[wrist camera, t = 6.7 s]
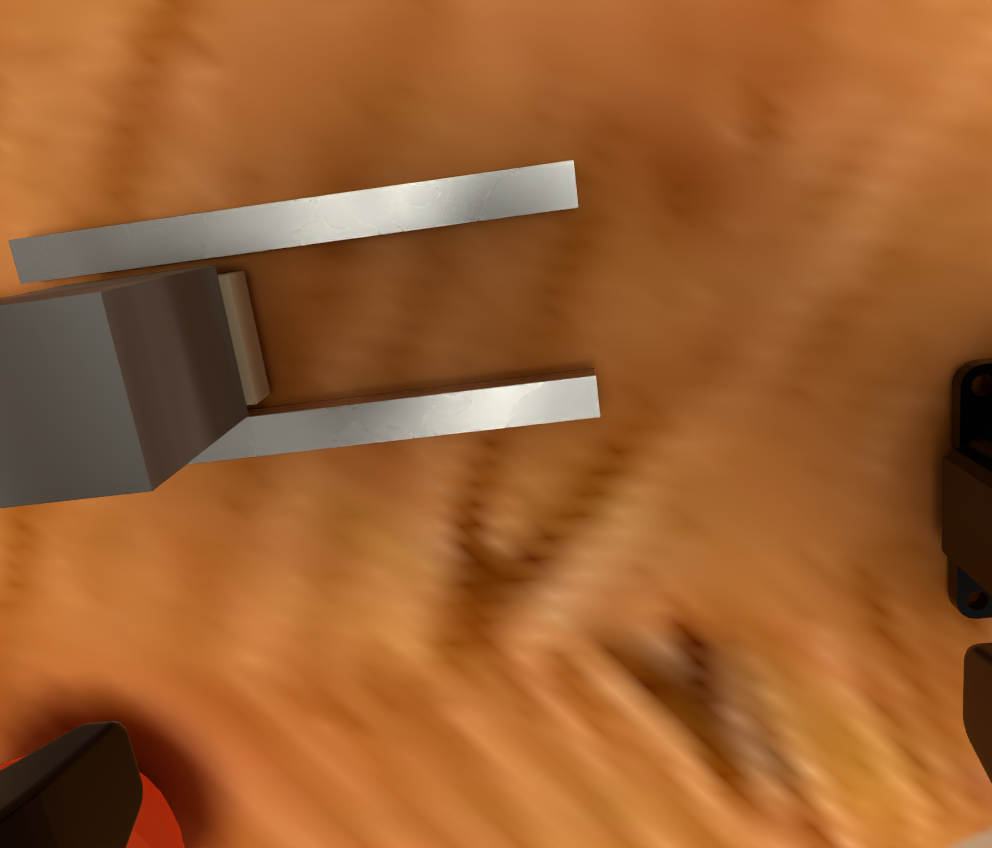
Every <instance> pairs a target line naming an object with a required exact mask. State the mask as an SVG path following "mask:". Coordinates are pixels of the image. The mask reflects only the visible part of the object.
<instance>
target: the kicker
mask: <svg viewBox="0 0 992 848" xmlns="http://www.w3.org/2000/svg"><path fill="white" fill-rule="evenodd" d="M269 394H270V390H269V385H268V381H267V376H266V371H265V366H264V362H263V357H262V352H261V348H260V343H259V338H258V334H257V329H256V324H255V320H254V315H253V310H252V306H251V301H250V296H249V292H248V287H247V282H246V278H245V273H244V270H243V271H236V272H229V273H221V274H217V270H216V266H215V265H211V266H204V267H196V268H189V269H182V270H174V271H167V272H160V273H152V274H145V275H138V276H130V277H123V278H116V279H108V280H101V281H94V282H86V283H79V284H71V285H65V286H60V287H55V288H50V289H45V290H41V291H36V292H31V293H26V294H21V295H16V296H11V297H7V298H2V299H0V508H6V507H15V506H24V505H33V504H42V503H50V502H59V501H68V500H77V499H86V498H95V497H104V496H113V495H121V494H130V493H139V492H148V491H153V490H154V489H156V488H157V487H158V486H159V485H161V484H162V483H163V482H164V481H166V480H167V479H168V478H170V477H171V476H172V475H173V474H175V473H176V472H177V471H179V470H180V469H181V468H182V467H184V466H185V465H186V464H188V463H189V462H190V461H191V460H193V459H194V458H195V457H196V456H198V455H199V454H200V453H202V452H203V451H204V450H205V449H207V448H208V447H209V446H211V445H212V444H213V443H214V442H216V441H217V440H218V439H219V438H221V437H222V436H223V435H225V434H226V433H227V432H228V431H230V430H231V429H232V428H234V427H235V426H236V425H237V424H239V423H240V422H241V421H242V420H244V419H245V418H246V417H248V416H249V414H248V410H247V405H253V404H258V403H259V402H260V401H262V400H263V399H264V398H265V397H267V396H268V395H269Z"/></svg>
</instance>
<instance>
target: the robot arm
mask: <svg viewBox="0 0 992 848" xmlns="http://www.w3.org/2000/svg"><path fill="white" fill-rule="evenodd" d="M983 374H984V375H985V379H986V381H985V385H984V386H983V387H982V388H981V389H980V390H978V391H976V392H973V391H972V387H971V386H972V383H973V380H974V379H975V378H976V377H977V376H980V375H983ZM942 551H943V552H944V553H945V554H946V555H947V556H948V557H949V558H950V571H949V596H950V601H951V603H952V604H953V605H954V606H955V607H956V608H957V610H958V611H959V612H960V613H961V614H962V615H964V616H966V617H968V618H975V619H980V618H991V617H992V359H983V360H975V361H971V362H968V363H966V364H964V365H963V366H961V367H960V368H959V369H958V370H957V372H956V373H955V375H954V378H953V382H952V429H951V448H950V450H949V451H948V452H947V454H946V455H945V456H944V458H943V464H942ZM977 591H980V595H979V597H978V598H977V599H976V600H975V601H972V602H967V600H968V597H969V596H970V595H971V594H972V593H974V592H977ZM963 720H964V726H965V729H966V733H967V736H968V738H969V740H970V743H971V745H972V746H973V748H974V750H975V752H976V754H977V756H978V758H979V760H980V762H981V764H982V766H983V768H984V770H985V772H986V773H987V775H988V777H989V779H990V781H991V783H992V643H983V644H975V645H972V646H970V647H969V648H968V649H967V651H966V654H965V657H964V686H963ZM142 799H143V783H142V778H141V775H140V771H139V768H138V765H137V761H136V758H135V755H134V751H133V748H132V744H131V741H130V738H129V734H128V732H127V729H126V728H125V726H124V725H123V724H122V723H120V722H118V721H105V722H94V723H86V724H82V725H80V726H78V727H76V728H74V729H72V730H71V731H69V732H67V733H65V734H64V735H62V736H60V737H58V738H56V739H55V740H53V741H51V742H49V743H48V744H46V745H44V746H42V747H41V748H39V749H37V750H35V751H34V752H32V753H30V754H28V755H27V756H25V757H23V758H21V759H20V760H18V761H16V762H14V763H12V764H11V765H9V766H7V767H5V768H4V769H2V770H0V848H126V847H127V844H128V841H129V838H130V836H131V833H132V830H133V827H134V825H135V822H136V819H137V816H138V814H139V811H140V808H141V804H142Z"/></svg>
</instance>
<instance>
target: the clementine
mask: <svg viewBox="0 0 992 848" xmlns="http://www.w3.org/2000/svg"><path fill="white" fill-rule="evenodd" d="M25 756H27V755H25ZM25 756H22V757H19V758H16V759H13V760H10V761H7V762H5V763H2V764H0V770H2V769H4V768H5V767H7V766H9V765H11V764H12V763H14V762H16V761H18V760H20V759H21V758H23V757H25ZM140 775H141V778H142V783H143V799H142V804H141V808H140V811H139V814H138V816H137V819H136V822H135V825H134V827H133V830H132V833H131V836H130V838H129V841H128V844H127V847H126V848H185V847H184V843H183V839H182V834H181V830H180V827H179V825H178V823H177V821H176V818H175V816H174V814H173V812H172V810H171V808H170V807H169V805H168V803H167V801H166V799H165V798H164V796H163V794H162V793H161V792H160V791H159V789H158V788H157V787H156V786H155V785H154V784H153V783H152V782H151V781H150V780H149V779H148V778H147V777H146V776H145V775H143V774H142V773H140Z"/></svg>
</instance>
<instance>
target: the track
mask: <svg viewBox="0 0 992 848" xmlns="http://www.w3.org/2000/svg"><path fill="white" fill-rule="evenodd" d="M571 208H578V199H577V189H576V179H575V170H574V160H570V161H563V162H556V163H549V164H542V165H535V166H528V167H521V168H514V169H507V170H500V171H493V172H486V173H479V174H472V175H465V176H458V177H451V178H444V179H437V180H430V181H423V182H416V183H409V184H401V185H394V186H387V187H380V188H373V189H366V190H359V191H352V192H345V193H338V194H331V195H324V196H317V197H310V198H303V199H296V200H289V201H282V202H275V203H268V204H261V205H254V206H247V207H240V208H233V209H226V210H218V211H211V212H204V213H197V214H190V215H183V216H176V217H169V218H162V219H155V220H148V221H141V222H134V223H127V224H120V225H113V226H106V227H99V228H92V229H85V230H78V231H71V232H64V233H57V234H50V235H42V236H35V237H28V238H21V239H14V240H8V241H9V244H10V248H11V251H12V255H13V258H14V262H15V265H16V269H17V272H18V276H19V279H20V283H21V284H24V283H31V282H38V281H46V280H53V279H60V278H68V277H75V276H82V275H89V274H97V273H104V272H111V271H119V270H126V269H133V268H141V267H148V266H155V265H162V264H170V263H177V262H184V261H192V260H199V259H206V258H213V257H221V256H228V255H235V254H243V253H250V252H257V251H265V250H272V249H279V248H286V247H294V246H301V245H308V244H316V243H323V242H330V241H337V240H345V239H352V238H359V237H367V236H374V235H381V234H389V233H396V232H403V231H410V230H418V229H425V228H432V227H440V226H447V225H454V224H462V223H469V222H476V221H483V220H491V219H498V218H505V217H513V216H520V215H527V214H534V213H542V212H549V211H556V210H564V209H571ZM248 414H249V416H248V417H246V418H245V419H244V420H242V421H241V422H240V423H239V424H237V425H236V426H235V427H234V428H232V429H231V430H230V431H228V432H227V433H226V434H225V435H223V436H222V437H221V438H219V439H218V440H217V441H216V442H214V443H213V444H212V445H211V446H209V447H208V448H207V449H205V450H204V451H203V452H202V453H200V454H199V455H198V456H196V457H195V458H194V459H193V460H191V461H190V462H189V463H188V464H196V463H204V462H213V461H222V460H230V459H239V458H248V457H256V456H265V455H274V454H282V453H291V452H300V451H309V450H317V449H326V448H335V447H343V446H352V445H361V444H369V443H378V442H387V441H395V440H404V439H413V438H421V437H430V436H439V435H448V434H456V433H465V432H474V431H482V430H491V429H500V428H508V427H517V426H526V425H534V424H543V423H552V422H560V421H569V420H578V419H586V418H595V417H600V410H599V400H598V390H597V381H596V374H595V371H594V368H592V369H584V370H576V371H567V372H559V373H551V374H543V375H534V376H526V377H518V378H509V379H501V380H493V381H484V382H476V383H468V384H459V385H451V386H443V387H434V388H426V389H418V390H409V391H401V392H393V393H385V394H376V395H368V396H360V397H351V398H343V399H335V400H326V401H318V402H310V403H301V404H293V405H285V406H276V407H268V408H260V409H251V410H248ZM186 465H187V464H186Z"/></svg>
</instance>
